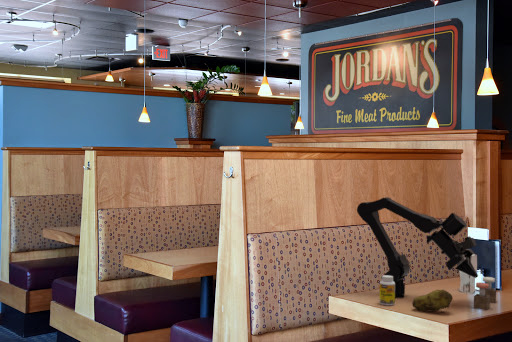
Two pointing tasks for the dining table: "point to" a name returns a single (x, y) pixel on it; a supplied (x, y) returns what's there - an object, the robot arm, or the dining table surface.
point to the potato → (433, 301)
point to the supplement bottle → (387, 290)
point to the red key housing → (482, 302)
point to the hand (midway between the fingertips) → (477, 276)
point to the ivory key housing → (491, 294)
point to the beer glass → (468, 278)
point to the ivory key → (489, 281)
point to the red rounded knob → (482, 288)
